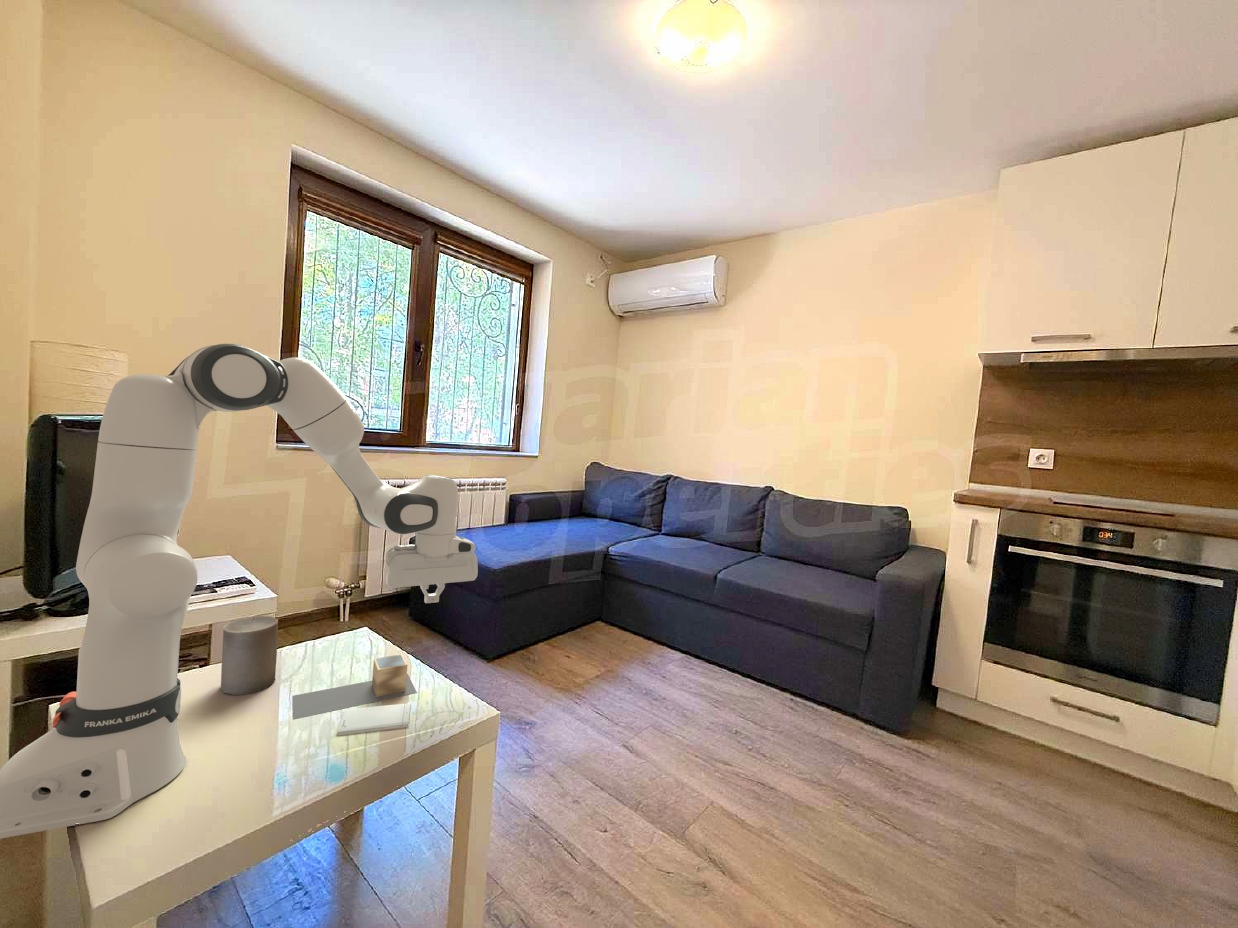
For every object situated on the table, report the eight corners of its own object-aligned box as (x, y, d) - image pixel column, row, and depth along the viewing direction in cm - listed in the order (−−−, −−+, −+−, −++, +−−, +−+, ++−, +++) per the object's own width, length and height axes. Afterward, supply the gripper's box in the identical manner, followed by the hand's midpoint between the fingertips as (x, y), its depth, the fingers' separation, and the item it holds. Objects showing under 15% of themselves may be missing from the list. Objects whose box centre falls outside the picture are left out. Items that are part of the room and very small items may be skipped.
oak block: (376, 696, 103) (378, 669, 103) (372, 684, 108) (373, 658, 108) (405, 690, 107) (407, 664, 107) (400, 679, 112) (402, 653, 111)
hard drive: (336, 731, 89) (408, 722, 94) (344, 708, 97) (410, 701, 101) (336, 740, 89) (408, 730, 94) (344, 716, 97) (410, 708, 101)
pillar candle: (276, 670, 111) (279, 607, 111) (274, 689, 103) (277, 621, 103) (223, 679, 106) (226, 613, 106) (216, 700, 98) (219, 628, 97)
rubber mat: (292, 720, 93) (292, 719, 93) (292, 696, 101) (292, 695, 101) (416, 693, 106) (417, 692, 106) (407, 674, 114) (407, 673, 114)
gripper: (389, 548, 103) (385, 611, 103) (482, 544, 114) (477, 601, 115) (384, 543, 108) (380, 603, 108) (473, 539, 120) (469, 593, 120)
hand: (431, 601), depth 112 cm, fingers closed
